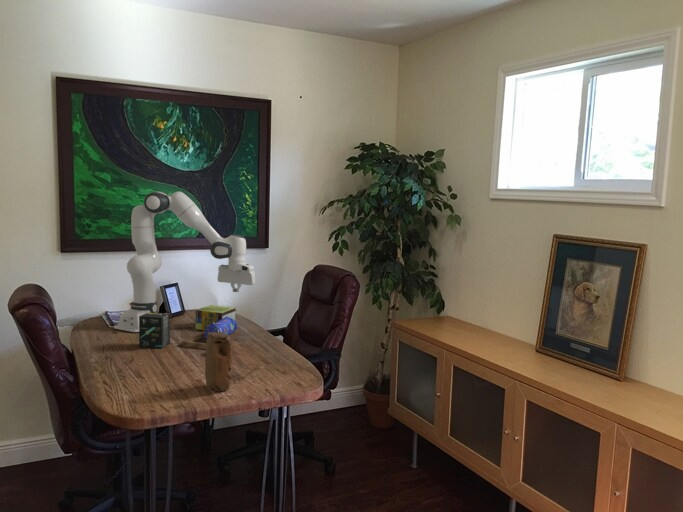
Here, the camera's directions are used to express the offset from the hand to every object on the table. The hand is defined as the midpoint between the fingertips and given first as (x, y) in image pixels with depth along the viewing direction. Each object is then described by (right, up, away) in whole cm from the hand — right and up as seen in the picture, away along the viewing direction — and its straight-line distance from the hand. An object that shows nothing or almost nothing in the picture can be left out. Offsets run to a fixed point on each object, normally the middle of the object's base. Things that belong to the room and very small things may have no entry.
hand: (235, 291), depth 292 cm
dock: (-7, -22, -23) cm, 32 cm away
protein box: (-9, -14, +10) cm, 19 cm away
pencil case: (-4, -22, -17) cm, 28 cm away
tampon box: (-31, -23, -35) cm, 52 cm away
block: (+10, -30, -88) cm, 93 cm away
